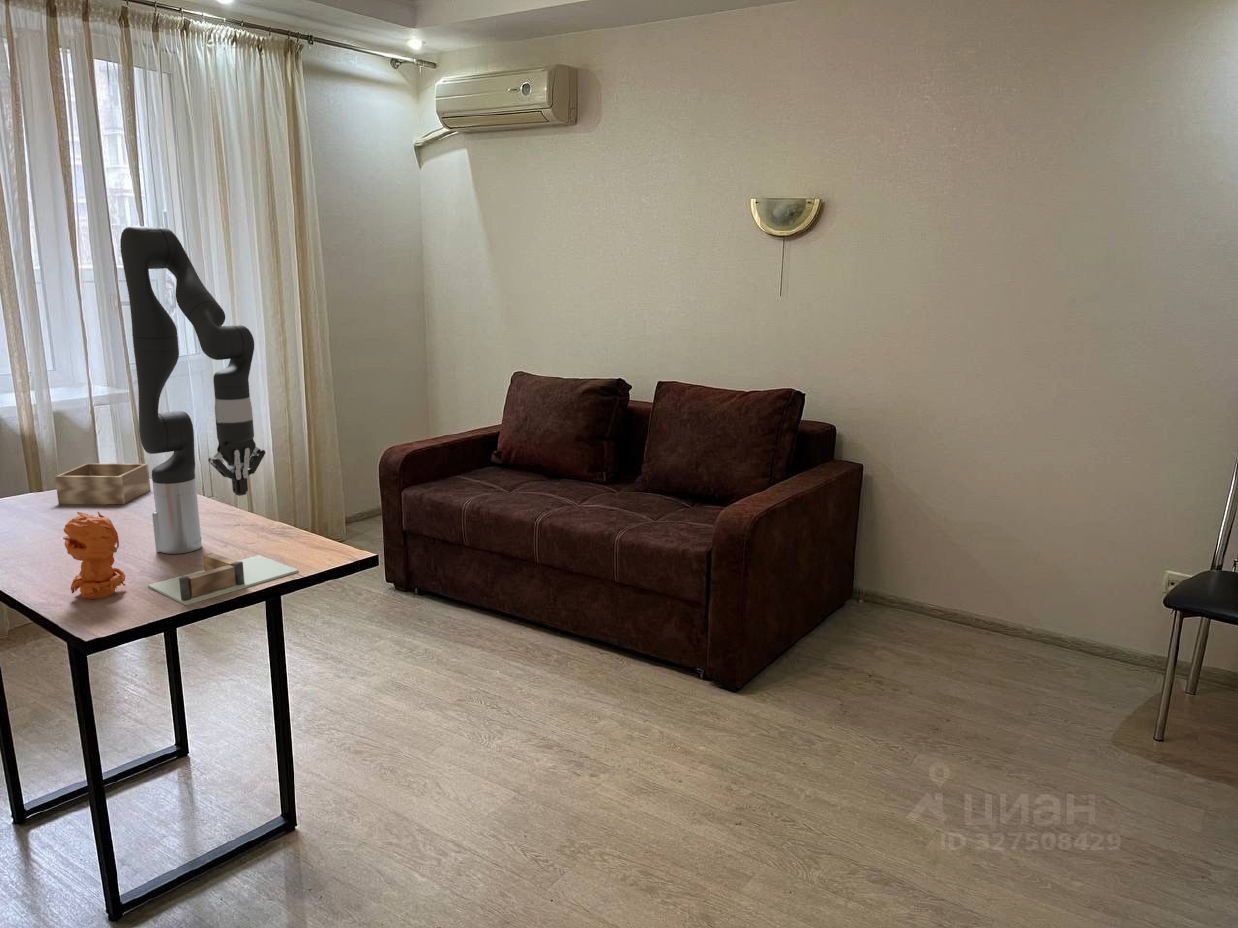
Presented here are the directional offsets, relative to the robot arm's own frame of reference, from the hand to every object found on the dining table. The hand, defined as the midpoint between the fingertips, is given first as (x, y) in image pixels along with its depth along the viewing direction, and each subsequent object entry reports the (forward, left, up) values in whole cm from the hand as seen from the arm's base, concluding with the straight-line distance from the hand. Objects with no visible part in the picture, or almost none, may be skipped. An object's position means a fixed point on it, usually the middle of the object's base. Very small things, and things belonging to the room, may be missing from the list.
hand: (240, 494), depth 206 cm
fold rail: (-3, -7, -17) cm, 18 cm away
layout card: (-2, -7, -18) cm, 19 cm away
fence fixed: (-1, -15, -18) cm, 23 cm away
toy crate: (-63, +60, -18) cm, 89 cm away
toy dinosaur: (-25, -16, -18) cm, 35 cm away
